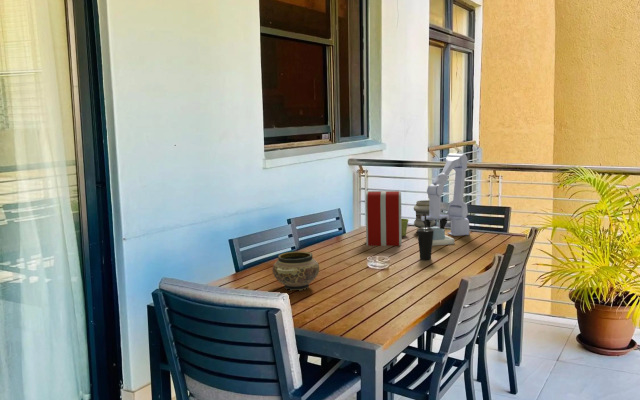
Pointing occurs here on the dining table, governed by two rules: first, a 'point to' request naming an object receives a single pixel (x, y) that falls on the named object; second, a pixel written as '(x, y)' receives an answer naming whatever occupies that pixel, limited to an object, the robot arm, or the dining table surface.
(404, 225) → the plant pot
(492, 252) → the dining table surface
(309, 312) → the dining table surface
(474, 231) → the dining table surface
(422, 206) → the apothecary jar
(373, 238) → the red striped block
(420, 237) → the drinking cup
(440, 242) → the tray
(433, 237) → the block
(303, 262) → the ceramic bowl
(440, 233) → the block
